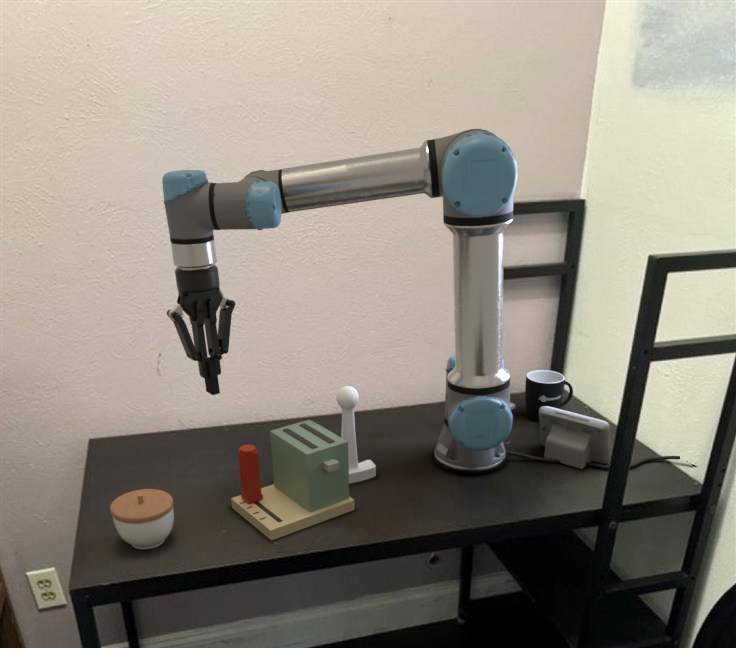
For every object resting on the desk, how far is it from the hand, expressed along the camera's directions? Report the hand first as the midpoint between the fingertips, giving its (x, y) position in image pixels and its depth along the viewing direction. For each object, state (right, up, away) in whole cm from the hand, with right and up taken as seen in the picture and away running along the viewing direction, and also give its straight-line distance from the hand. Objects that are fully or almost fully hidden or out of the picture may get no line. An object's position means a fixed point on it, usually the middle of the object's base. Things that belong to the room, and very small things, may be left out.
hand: (213, 392), depth 149 cm
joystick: (+25, -15, +13) cm, 32 cm away
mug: (+73, 0, +40) cm, 83 cm away
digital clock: (+74, -11, +20) cm, 77 cm away
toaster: (+15, -22, +1) cm, 27 cm away
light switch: (+59, +1, +41) cm, 72 cm away
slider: (+8, -20, 0) cm, 22 cm away
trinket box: (-10, -28, -8) cm, 31 cm away
